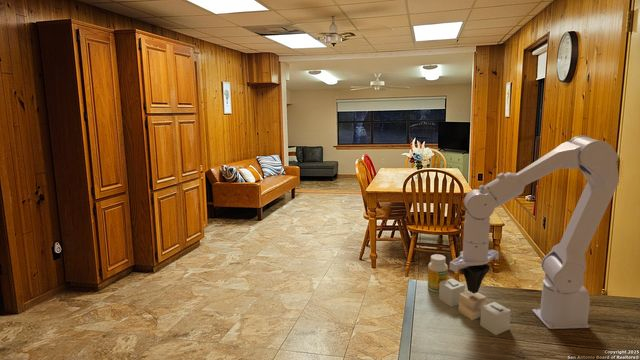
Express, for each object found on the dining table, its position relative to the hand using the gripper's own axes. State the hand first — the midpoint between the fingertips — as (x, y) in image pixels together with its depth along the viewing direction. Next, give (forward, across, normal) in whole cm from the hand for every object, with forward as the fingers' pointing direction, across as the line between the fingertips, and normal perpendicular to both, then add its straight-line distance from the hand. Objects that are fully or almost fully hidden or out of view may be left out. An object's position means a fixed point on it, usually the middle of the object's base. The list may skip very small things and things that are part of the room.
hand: (472, 291), depth 101 cm
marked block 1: (+6, 0, +7) cm, 9 cm away
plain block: (+6, 0, 0) cm, 6 cm away
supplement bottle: (+6, -2, -14) cm, 15 cm away
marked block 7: (+6, 0, -7) cm, 9 cm away
